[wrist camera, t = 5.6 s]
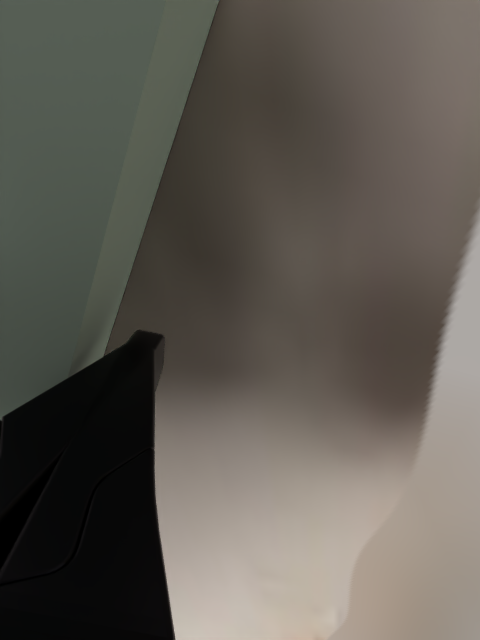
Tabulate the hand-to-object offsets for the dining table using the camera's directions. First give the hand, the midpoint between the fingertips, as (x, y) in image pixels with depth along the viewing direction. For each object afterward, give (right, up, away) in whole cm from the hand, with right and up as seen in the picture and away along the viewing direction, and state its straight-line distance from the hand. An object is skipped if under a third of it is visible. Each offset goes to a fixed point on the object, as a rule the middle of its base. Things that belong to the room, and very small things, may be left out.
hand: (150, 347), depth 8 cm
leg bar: (-1, +2, 0) cm, 3 cm away
